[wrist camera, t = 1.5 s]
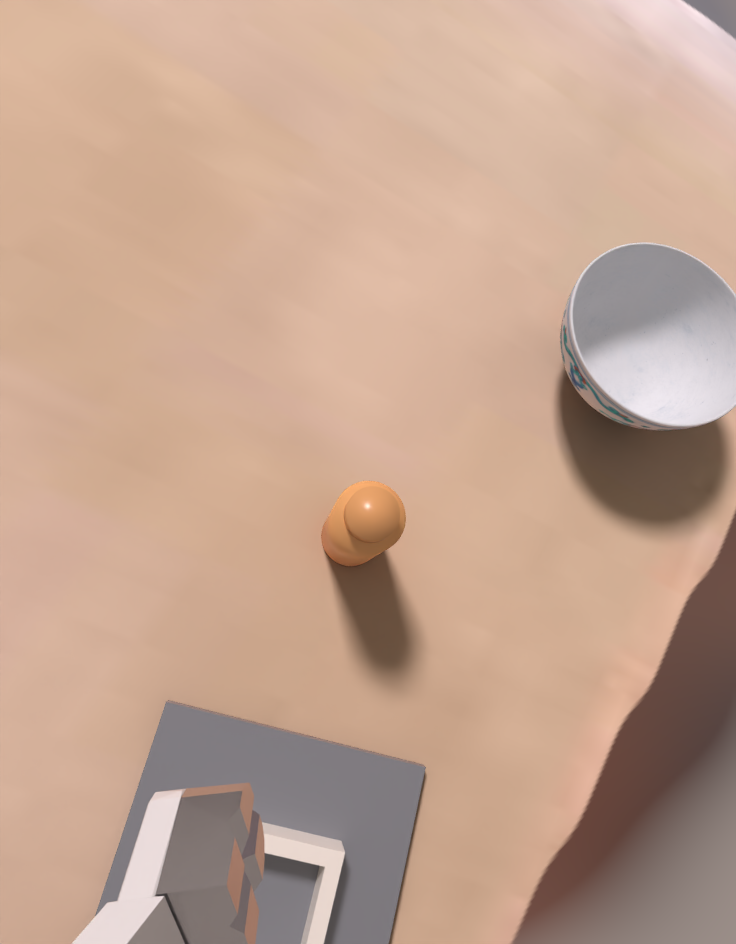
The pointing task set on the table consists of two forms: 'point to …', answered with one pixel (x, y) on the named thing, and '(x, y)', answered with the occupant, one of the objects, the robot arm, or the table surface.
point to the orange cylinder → (363, 523)
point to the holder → (294, 821)
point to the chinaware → (652, 338)
